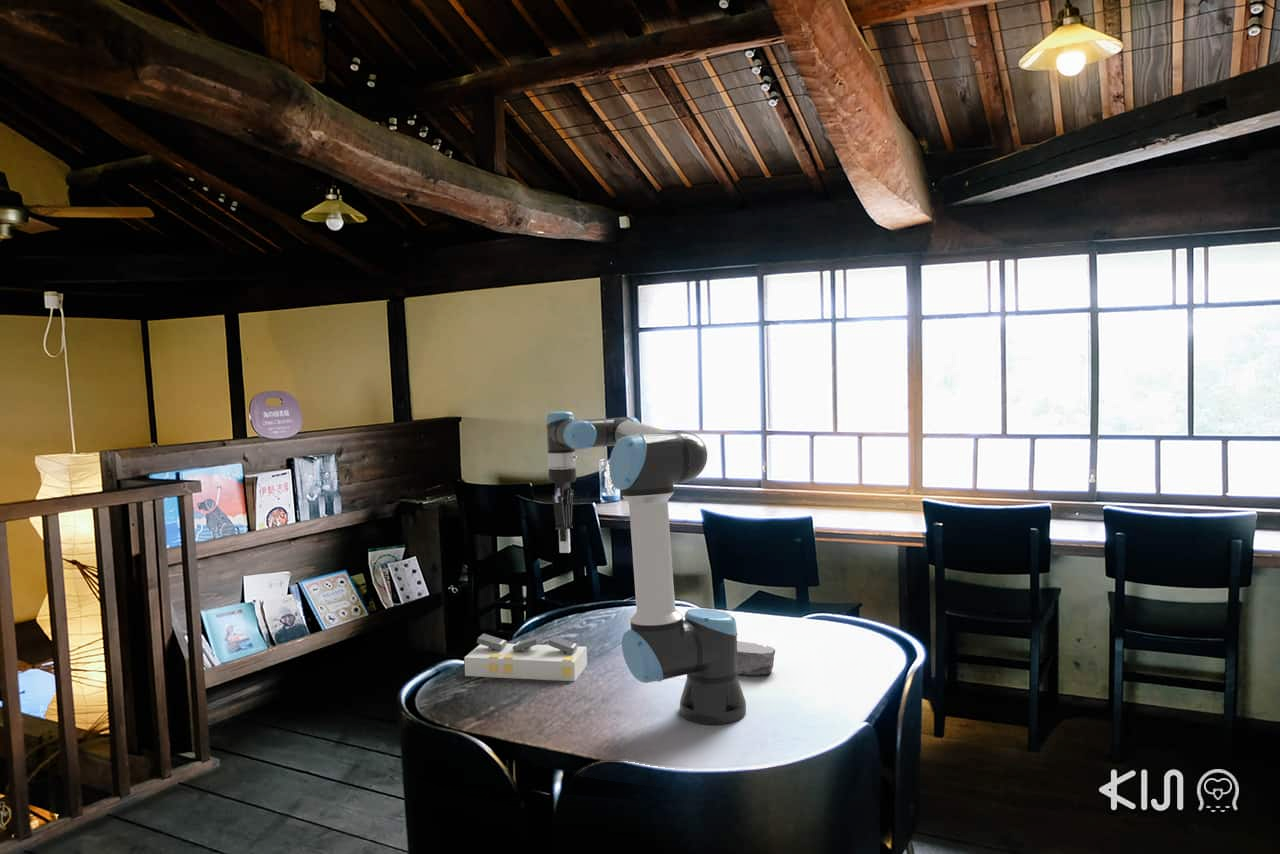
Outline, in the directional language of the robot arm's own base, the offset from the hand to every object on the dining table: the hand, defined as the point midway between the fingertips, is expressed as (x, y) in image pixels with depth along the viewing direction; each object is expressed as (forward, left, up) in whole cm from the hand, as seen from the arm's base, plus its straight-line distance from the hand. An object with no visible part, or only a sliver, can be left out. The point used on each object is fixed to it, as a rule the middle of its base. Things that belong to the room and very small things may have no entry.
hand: (565, 552), depth 225 cm
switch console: (-12, +8, -29) cm, 33 cm away
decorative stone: (-5, -50, -30) cm, 58 cm away
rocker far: (-11, +18, -22) cm, 31 cm away
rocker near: (-11, -2, -22) cm, 25 cm away
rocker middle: (-11, +8, -22) cm, 26 cm away
